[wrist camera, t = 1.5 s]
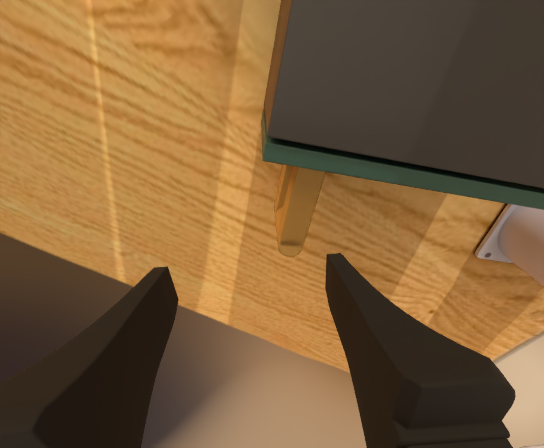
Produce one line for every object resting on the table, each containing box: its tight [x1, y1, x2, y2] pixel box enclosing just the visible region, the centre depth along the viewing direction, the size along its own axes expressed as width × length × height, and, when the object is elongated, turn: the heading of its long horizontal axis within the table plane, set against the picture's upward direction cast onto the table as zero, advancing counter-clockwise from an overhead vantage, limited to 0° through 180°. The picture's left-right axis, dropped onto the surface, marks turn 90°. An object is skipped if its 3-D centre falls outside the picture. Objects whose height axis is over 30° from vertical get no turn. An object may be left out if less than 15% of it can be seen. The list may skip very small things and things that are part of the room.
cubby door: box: [261, 110, 544, 257], centre depth 18 cm, size 6×16×8 cm, turn 79°
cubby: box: [264, 0, 544, 188], centre depth 14 cm, size 10×16×9 cm, turn 79°
